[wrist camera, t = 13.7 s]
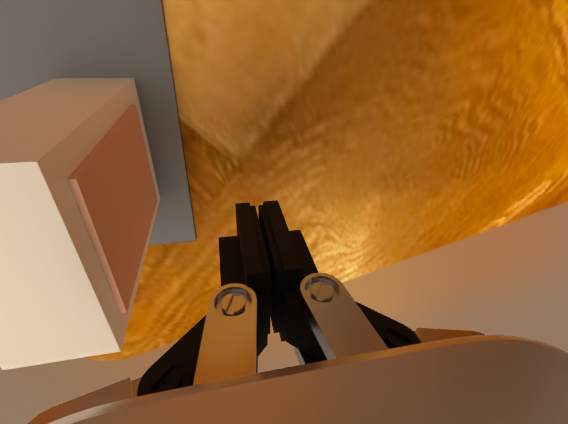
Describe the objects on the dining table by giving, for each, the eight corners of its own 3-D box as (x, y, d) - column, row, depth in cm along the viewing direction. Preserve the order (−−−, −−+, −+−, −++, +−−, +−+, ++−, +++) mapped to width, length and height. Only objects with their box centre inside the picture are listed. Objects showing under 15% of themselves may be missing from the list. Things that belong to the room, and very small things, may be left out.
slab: (138, 77, 17) (48, 160, 8) (164, 198, 22) (127, 350, 12) (55, 77, 17) (-167, 171, 7) (99, 202, 21) (3, 369, 11)
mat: (161, -3, 16) (160, -3, 16) (196, 237, 25) (195, 240, 24) (-301, -30, 12) (-315, -31, 12) (-71, 262, 21) (-75, 265, 21)
